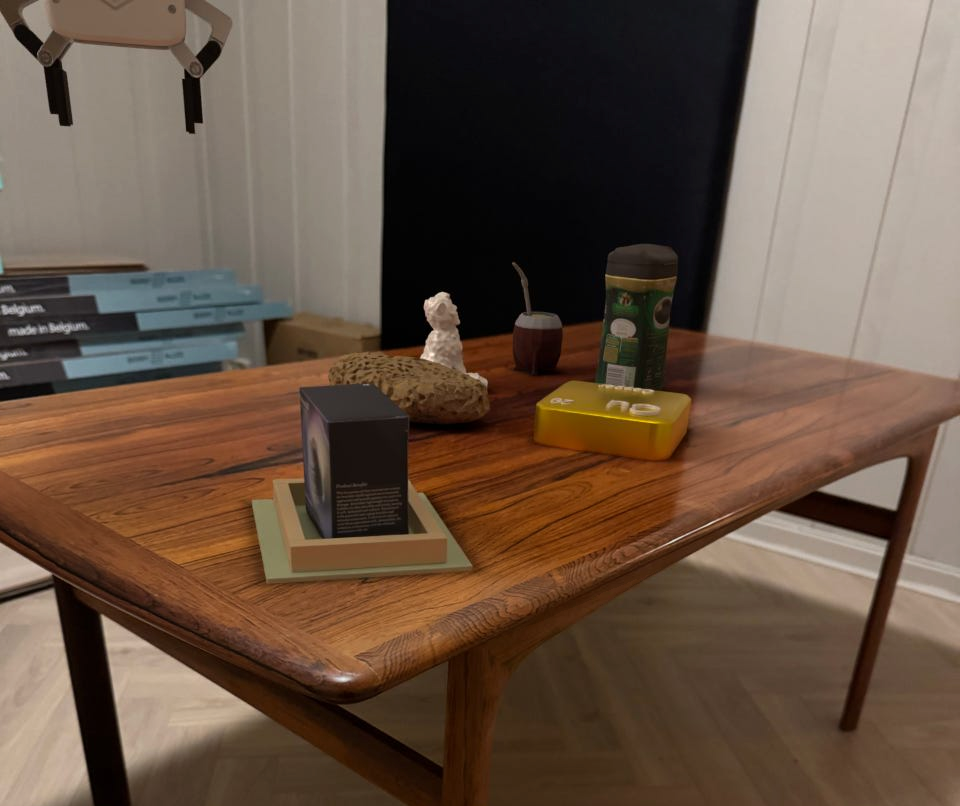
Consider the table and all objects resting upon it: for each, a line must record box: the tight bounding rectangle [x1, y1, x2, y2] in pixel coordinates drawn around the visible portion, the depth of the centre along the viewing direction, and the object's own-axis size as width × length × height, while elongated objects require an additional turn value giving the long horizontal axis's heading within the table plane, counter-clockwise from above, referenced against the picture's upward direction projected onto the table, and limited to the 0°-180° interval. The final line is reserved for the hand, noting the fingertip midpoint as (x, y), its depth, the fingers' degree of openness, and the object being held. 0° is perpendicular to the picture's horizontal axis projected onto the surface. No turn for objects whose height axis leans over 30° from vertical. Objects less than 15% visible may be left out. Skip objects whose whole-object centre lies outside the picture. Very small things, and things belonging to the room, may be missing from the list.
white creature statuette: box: [419, 291, 489, 392], centre depth 122 cm, size 10×9×12 cm
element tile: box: [533, 380, 692, 462], centre depth 106 cm, size 15×15×5 cm
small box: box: [298, 383, 411, 539], centre depth 74 cm, size 11×6×10 cm, turn 21°
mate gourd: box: [511, 261, 564, 377], centre depth 133 cm, size 8×8×15 cm
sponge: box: [327, 351, 491, 426], centre depth 109 cm, size 13×8×20 cm
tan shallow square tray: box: [251, 477, 474, 585], centre depth 76 cm, size 15×17×3 cm
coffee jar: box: [594, 243, 679, 391], centre depth 123 cm, size 10×8×19 cm
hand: (129, 129), depth 78 cm, fingers open, 9 cm apart
